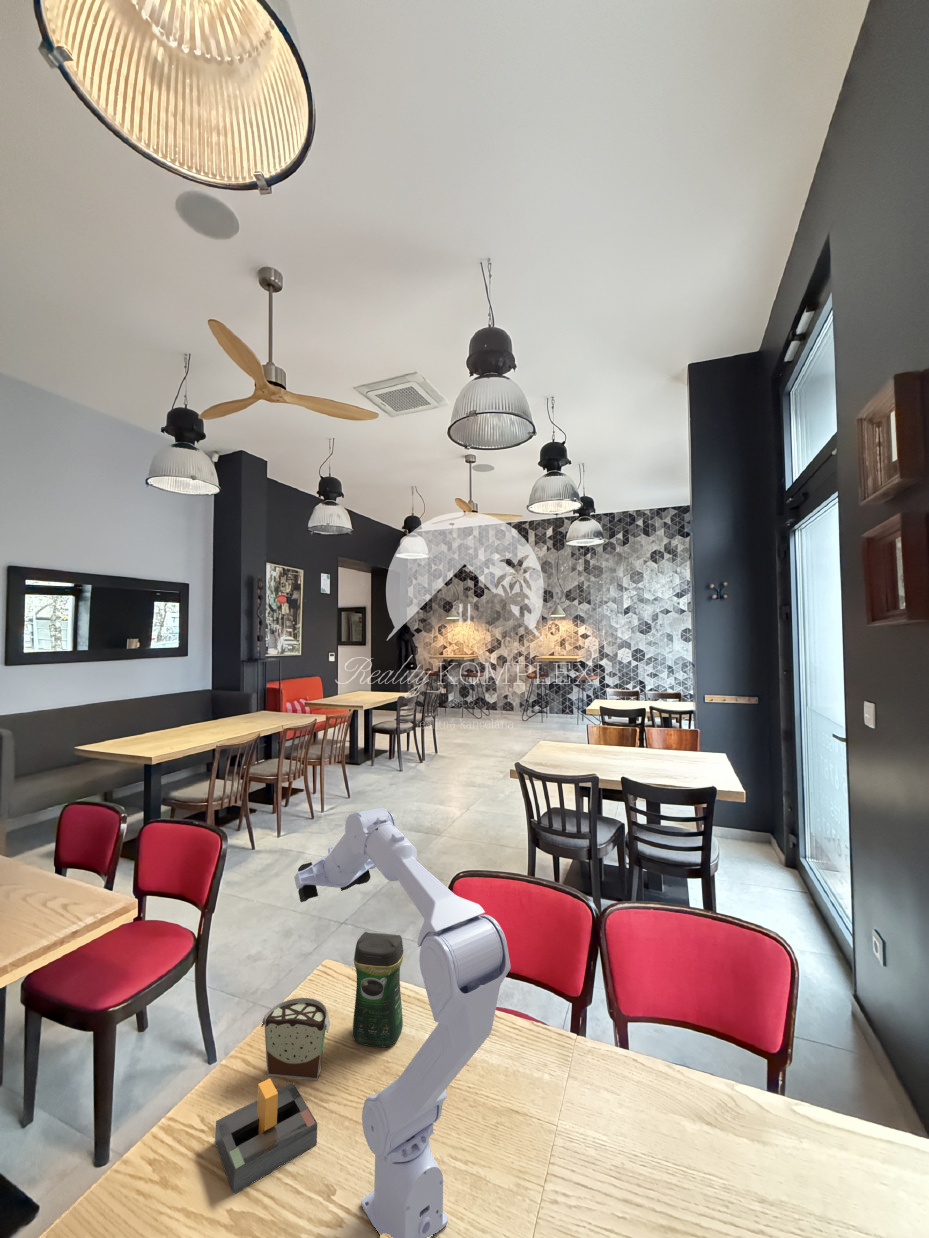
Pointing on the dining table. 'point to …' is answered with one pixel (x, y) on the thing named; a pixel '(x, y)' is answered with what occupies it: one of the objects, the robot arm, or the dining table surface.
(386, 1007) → the coffee jar
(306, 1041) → the food container
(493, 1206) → the dining table surface
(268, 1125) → the lever
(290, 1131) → the switch box
